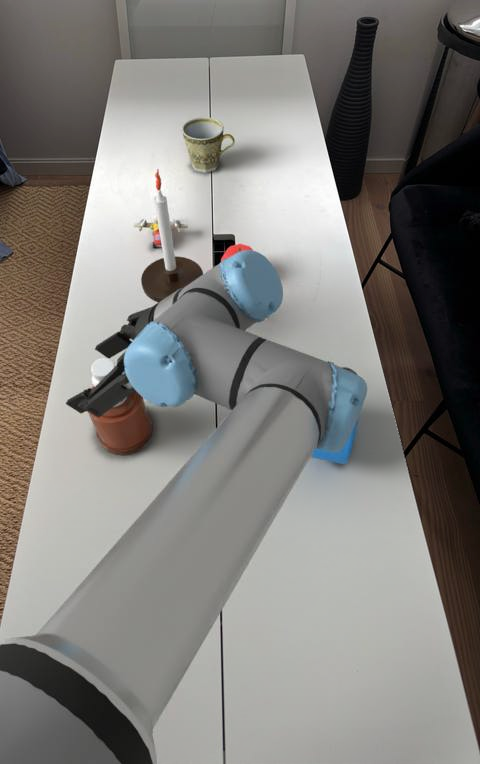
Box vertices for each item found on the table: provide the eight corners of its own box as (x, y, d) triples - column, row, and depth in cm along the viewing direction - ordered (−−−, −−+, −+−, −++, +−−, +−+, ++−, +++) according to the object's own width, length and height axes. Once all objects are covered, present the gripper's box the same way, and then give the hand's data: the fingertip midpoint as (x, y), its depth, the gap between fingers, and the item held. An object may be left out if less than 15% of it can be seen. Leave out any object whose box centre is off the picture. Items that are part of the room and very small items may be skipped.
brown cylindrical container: (127, 465, 90) (115, 432, 82) (86, 437, 93) (69, 403, 85) (163, 424, 95) (155, 389, 86) (123, 399, 98) (111, 363, 89)
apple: (258, 290, 113) (259, 261, 107) (220, 290, 113) (218, 261, 107) (259, 264, 118) (259, 234, 111) (222, 264, 118) (220, 234, 112)
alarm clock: (342, 479, 88) (357, 432, 76) (304, 470, 89) (313, 422, 77) (353, 412, 95) (369, 360, 83) (318, 405, 96) (328, 352, 84)
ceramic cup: (179, 173, 138) (175, 135, 130) (194, 151, 143) (191, 114, 135) (228, 182, 135) (227, 144, 127) (241, 160, 141) (240, 122, 133)
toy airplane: (158, 256, 120) (154, 232, 115) (134, 236, 124) (129, 212, 119) (190, 237, 123) (188, 213, 118) (166, 218, 127) (162, 194, 122)
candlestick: (166, 306, 111) (138, 144, 83) (216, 318, 109) (205, 157, 80) (143, 345, 105) (104, 186, 77) (196, 359, 103) (175, 201, 74)
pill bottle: (130, 403, 85) (121, 373, 78) (102, 412, 84) (90, 382, 77) (124, 381, 87) (114, 351, 81) (96, 390, 86) (84, 359, 80)
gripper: (170, 419, 63) (78, 454, 78) (222, 285, 76) (135, 338, 91) (118, 383, 59) (33, 427, 75) (182, 249, 72) (98, 310, 87)
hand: (89, 378), depth 83 cm, fingers open, 10 cm apart
